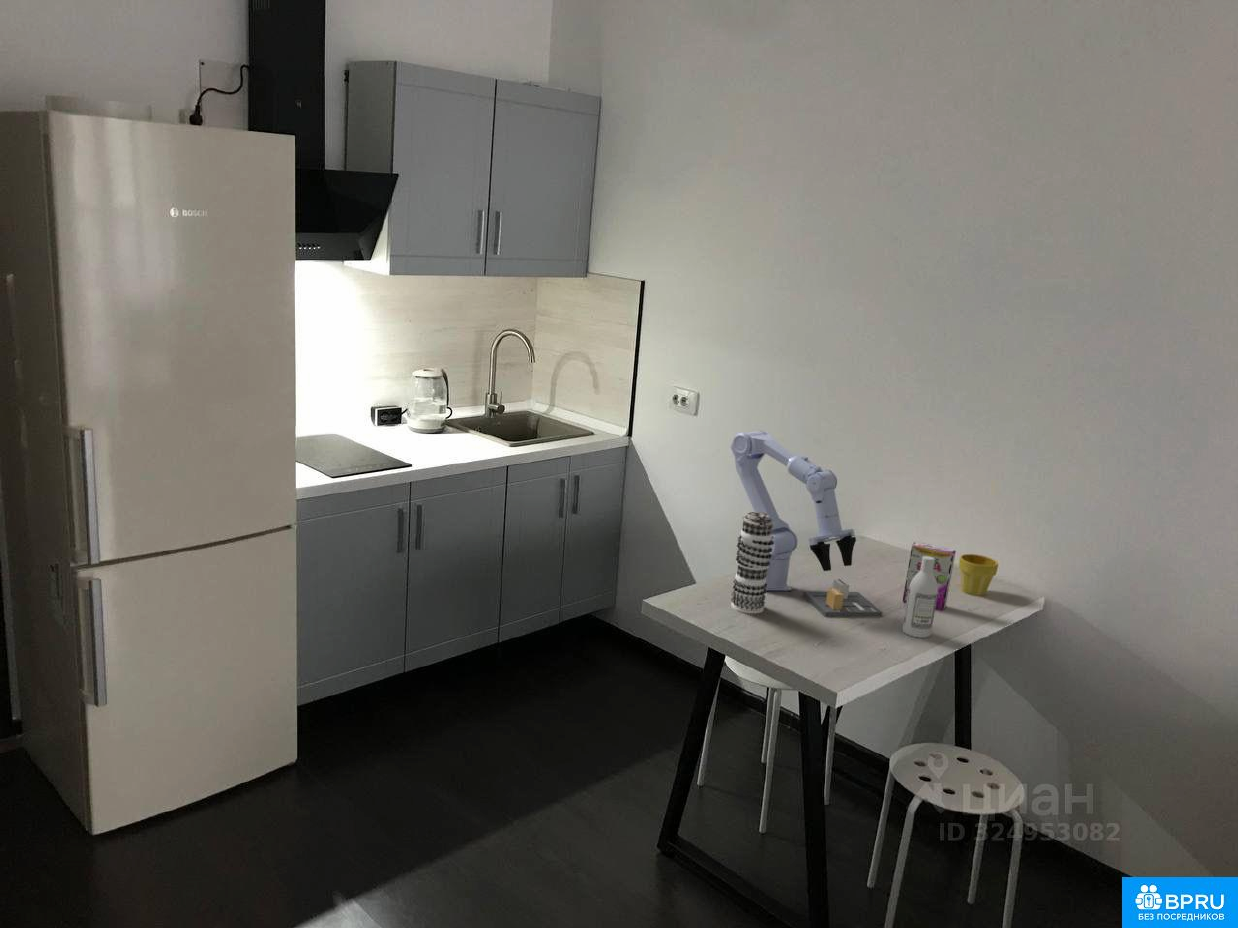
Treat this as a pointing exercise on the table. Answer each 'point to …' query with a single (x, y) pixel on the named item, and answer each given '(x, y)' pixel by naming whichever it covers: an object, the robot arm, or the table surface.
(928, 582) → the bath foam
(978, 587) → the plant pot
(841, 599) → the amber fader knob
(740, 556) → the decorative candle
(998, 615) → the table surface
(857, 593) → the mixing board
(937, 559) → the candy bar box
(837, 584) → the cream fader knob
